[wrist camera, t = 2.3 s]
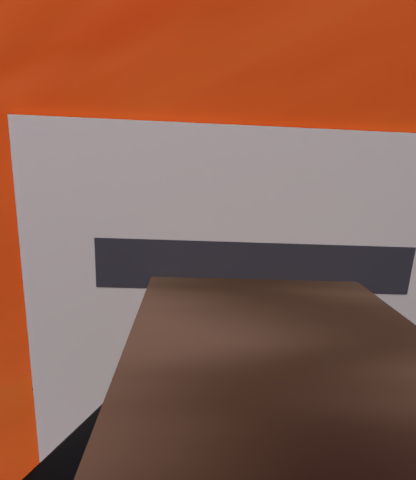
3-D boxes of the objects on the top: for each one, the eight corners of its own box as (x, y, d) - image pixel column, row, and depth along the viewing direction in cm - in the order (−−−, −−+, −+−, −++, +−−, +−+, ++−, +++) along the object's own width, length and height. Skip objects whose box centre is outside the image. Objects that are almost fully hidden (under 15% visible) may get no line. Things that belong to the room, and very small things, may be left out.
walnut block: (357, 281, 8) (772, 591, 2) (331, 450, 9) (563, 943, 3) (151, 276, 8) (26, 604, 2) (151, 450, 9) (70, 977, 3)
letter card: (504, 138, 8) (511, 137, 7) (410, 539, 10) (413, 545, 10) (11, 115, 7) (7, 114, 7) (49, 543, 10) (47, 549, 10)
